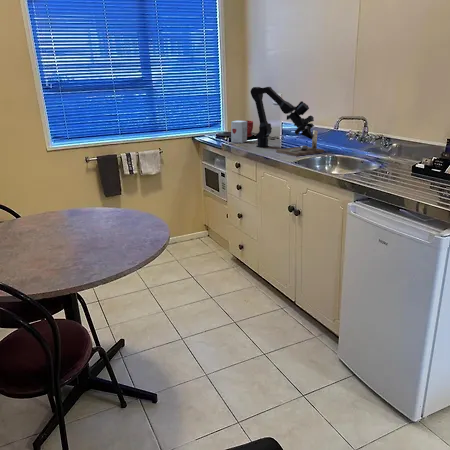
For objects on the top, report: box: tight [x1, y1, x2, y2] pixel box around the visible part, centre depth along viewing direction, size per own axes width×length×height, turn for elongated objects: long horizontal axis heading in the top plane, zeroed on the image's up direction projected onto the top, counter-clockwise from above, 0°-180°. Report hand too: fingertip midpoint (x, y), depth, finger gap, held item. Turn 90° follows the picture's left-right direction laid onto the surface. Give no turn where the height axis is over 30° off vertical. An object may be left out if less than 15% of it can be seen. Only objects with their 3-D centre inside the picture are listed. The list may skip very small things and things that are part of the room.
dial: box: [291, 129, 319, 151], centre depth 264 cm, size 19×4×11 cm, turn 117°
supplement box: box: [230, 120, 248, 144], centre depth 309 cm, size 9×9×15 cm
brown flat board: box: [276, 146, 325, 157], centre depth 267 cm, size 24×18×2 cm
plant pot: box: [244, 119, 254, 138], centre depth 336 cm, size 13×13×12 cm
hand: (312, 138), depth 269 cm, fingers closed
